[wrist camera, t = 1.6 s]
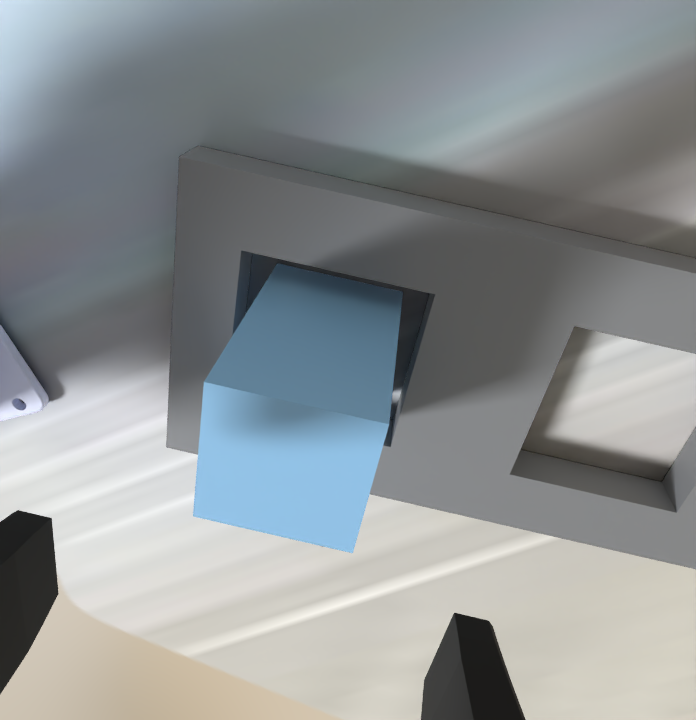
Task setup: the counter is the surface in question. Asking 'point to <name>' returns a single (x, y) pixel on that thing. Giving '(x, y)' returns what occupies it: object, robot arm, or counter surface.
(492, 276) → the holder plate
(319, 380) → the plug
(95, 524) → the counter surface
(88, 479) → the counter surface
